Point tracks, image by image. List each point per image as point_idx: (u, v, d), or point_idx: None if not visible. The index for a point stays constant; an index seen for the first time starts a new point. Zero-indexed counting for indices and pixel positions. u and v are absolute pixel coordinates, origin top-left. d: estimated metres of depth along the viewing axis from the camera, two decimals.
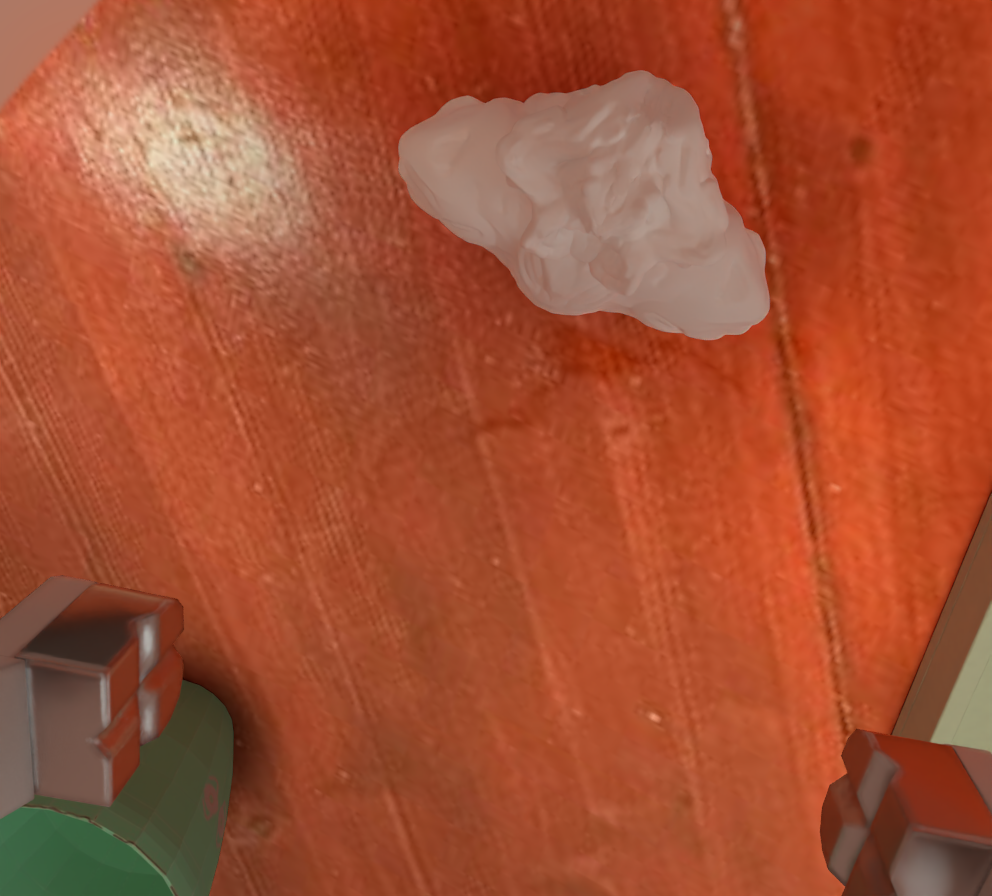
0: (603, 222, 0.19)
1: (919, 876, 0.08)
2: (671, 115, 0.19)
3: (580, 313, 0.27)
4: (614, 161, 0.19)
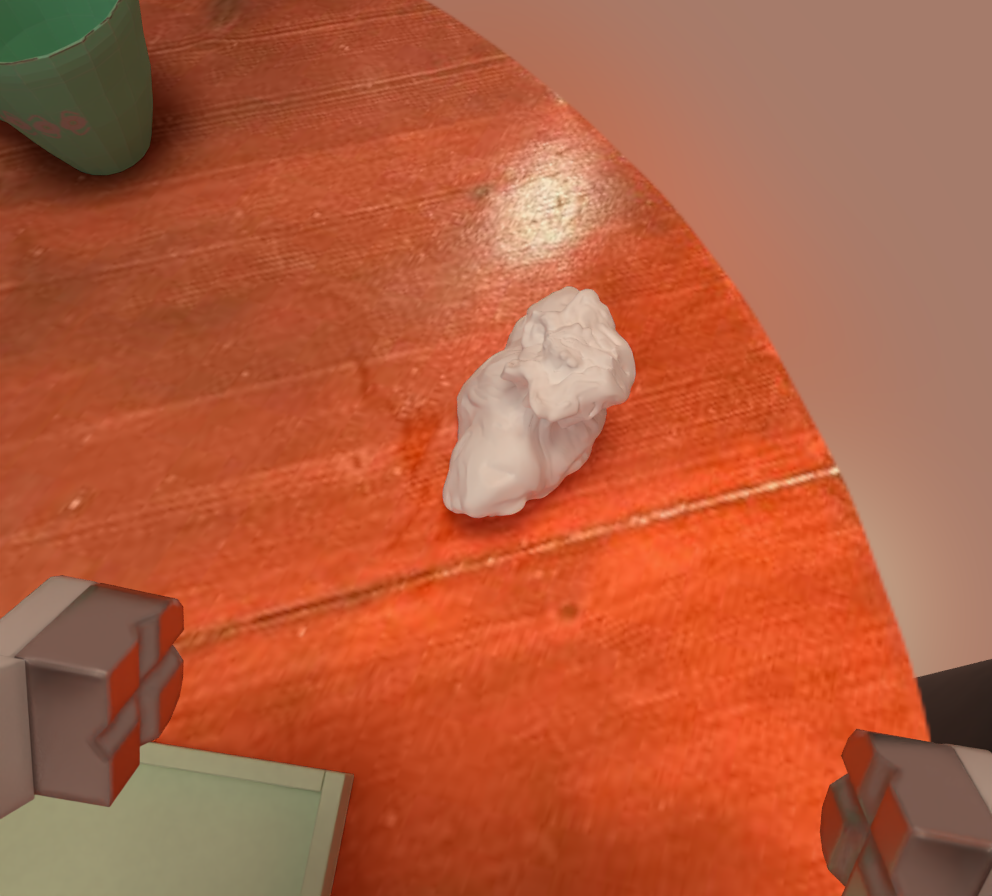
0: (555, 337, 0.32)
1: (919, 877, 0.08)
2: (615, 379, 0.32)
3: (462, 404, 0.38)
4: (589, 347, 0.32)
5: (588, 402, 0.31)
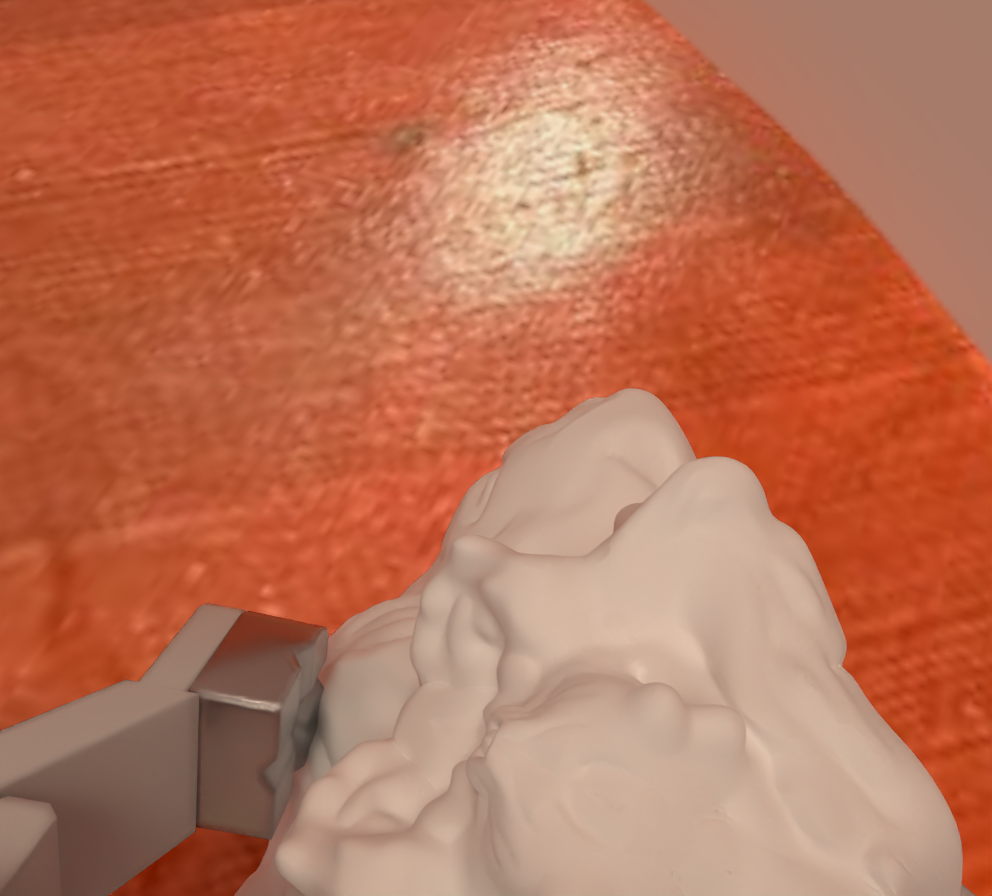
0: (531, 763, 0.05)
1: None
2: None
3: None
4: (723, 813, 0.06)
5: None
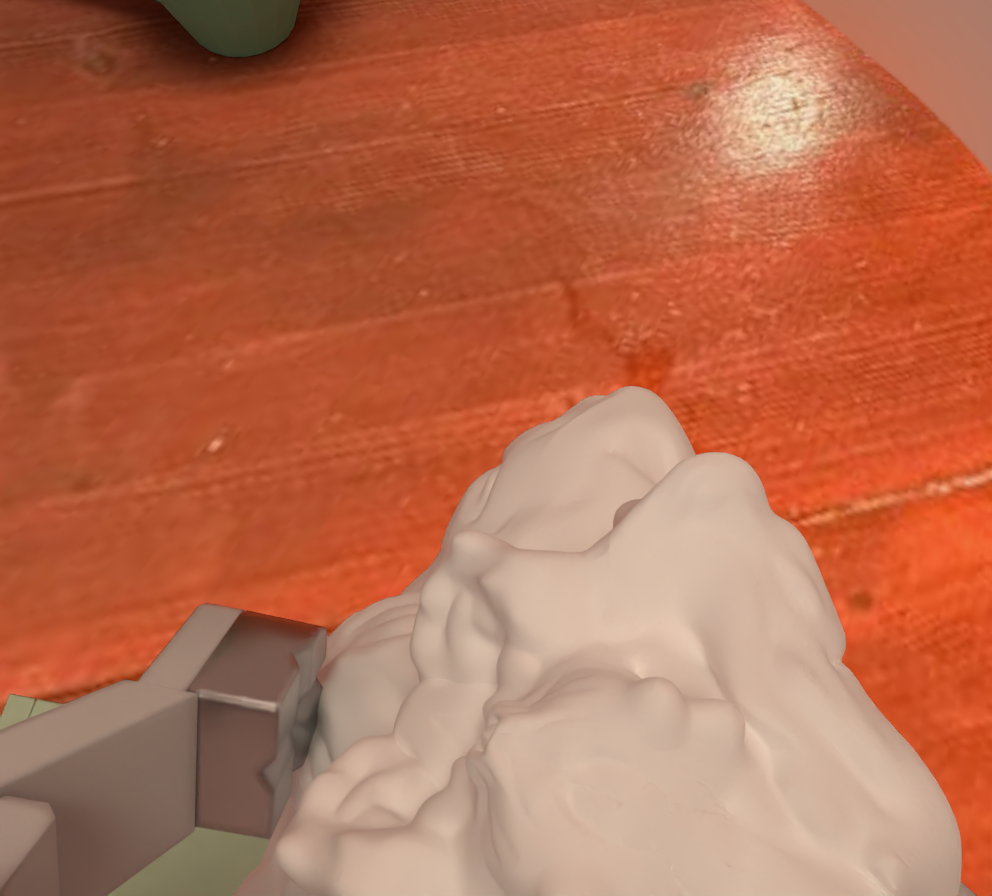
0: (531, 757, 0.05)
1: None
2: None
3: None
4: (723, 807, 0.06)
5: None
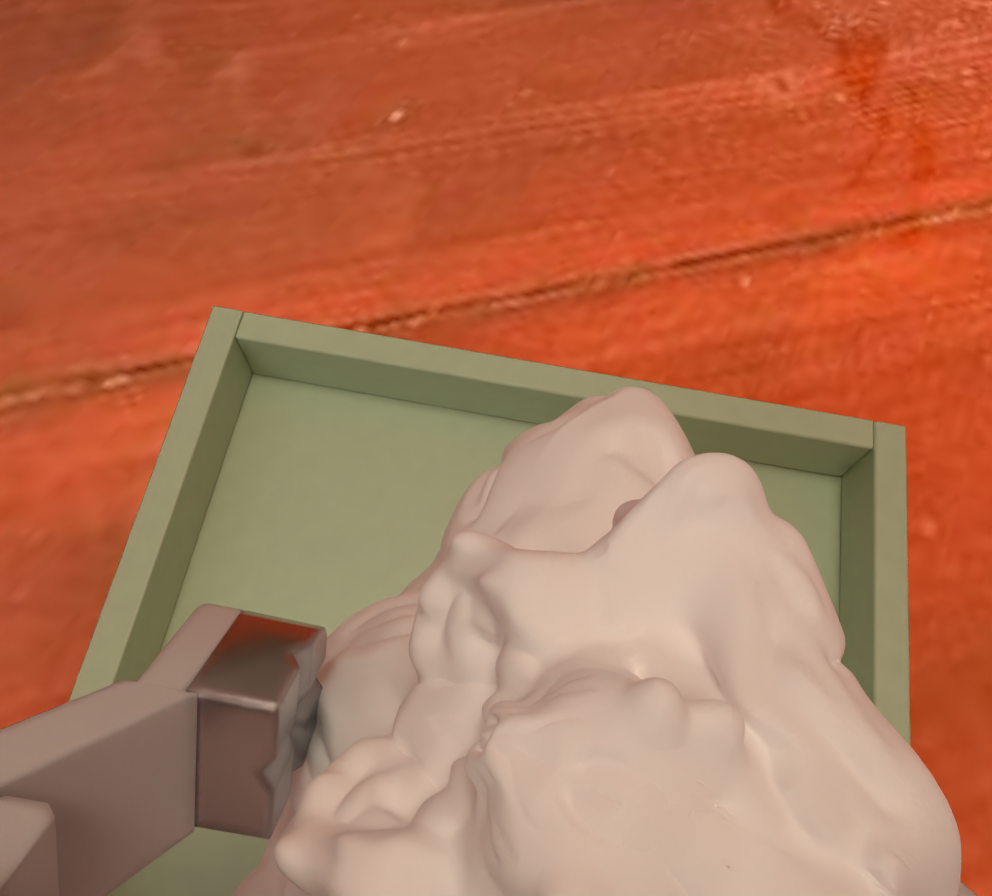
0: (530, 758, 0.05)
1: None
2: None
3: None
4: (722, 808, 0.06)
5: None
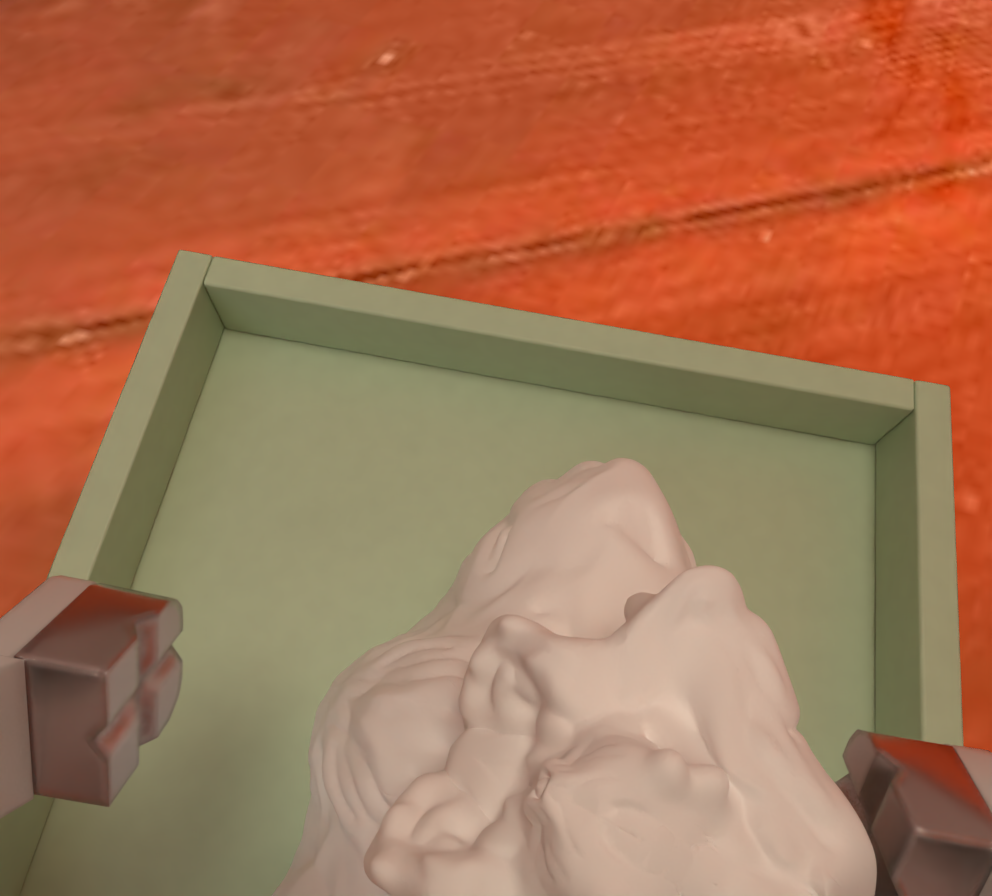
0: (576, 805, 0.08)
1: (920, 877, 0.08)
2: None
3: (313, 759, 0.14)
4: (710, 841, 0.08)
5: None
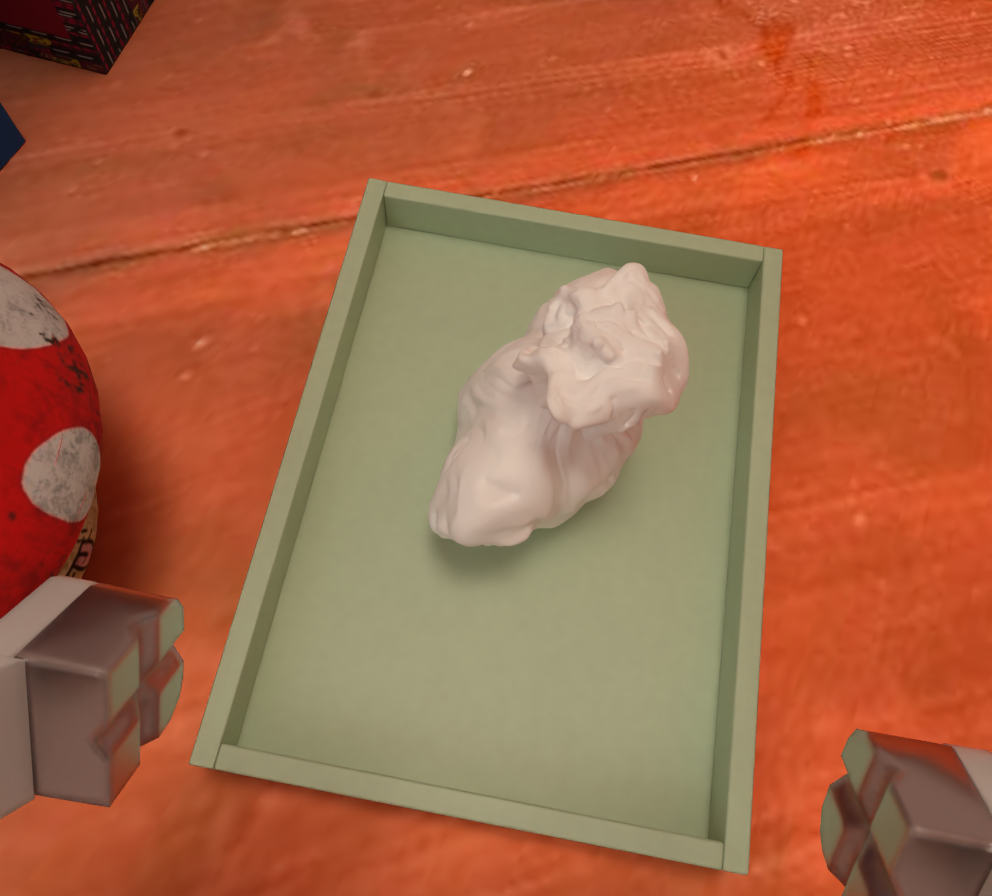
0: (588, 319, 0.24)
1: (919, 878, 0.08)
2: (662, 380, 0.24)
3: (463, 402, 0.30)
4: (631, 335, 0.24)
5: (624, 408, 0.24)
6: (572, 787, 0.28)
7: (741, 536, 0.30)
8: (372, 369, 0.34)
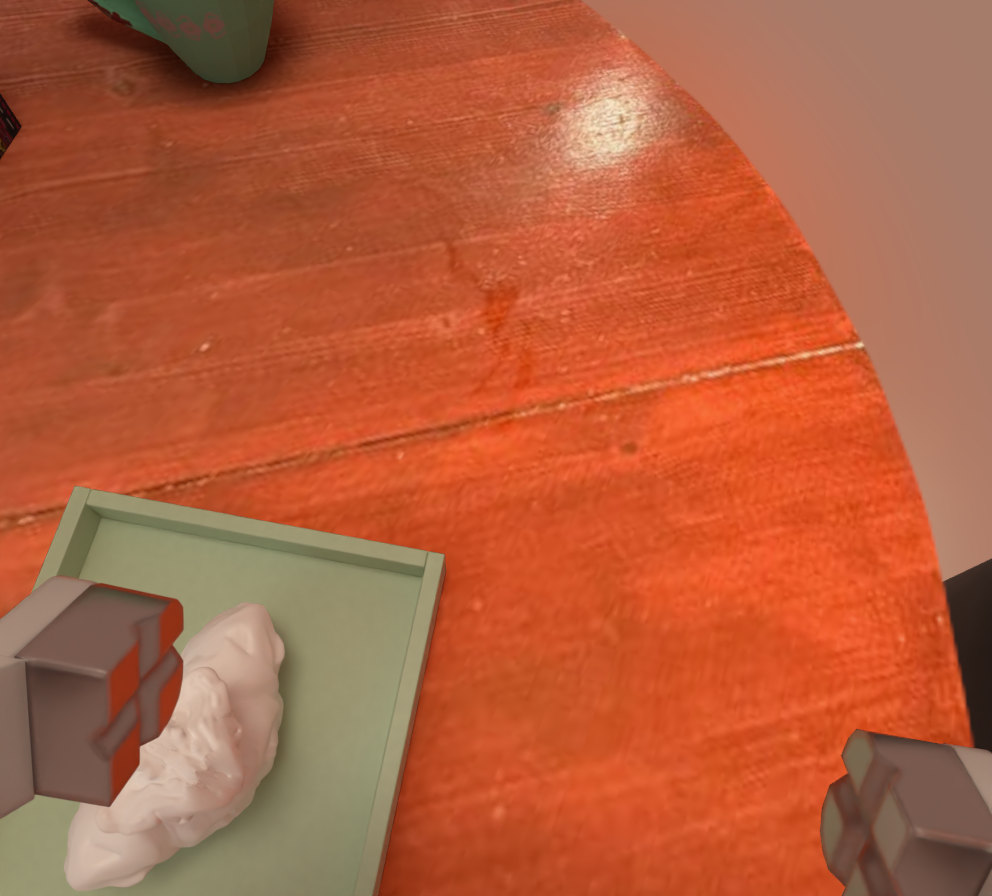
0: None
1: (918, 876, 0.08)
2: (204, 790, 0.28)
3: None
4: (180, 748, 0.28)
5: (169, 816, 0.27)
6: None
7: None
8: None
